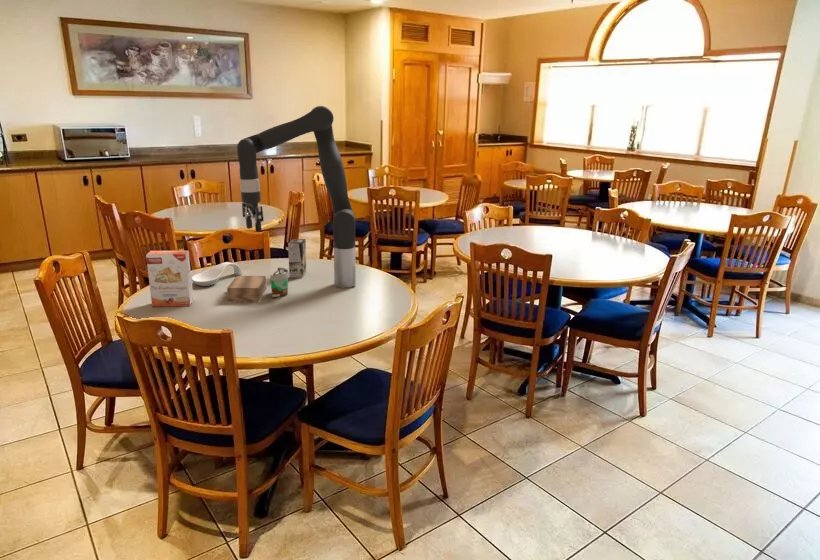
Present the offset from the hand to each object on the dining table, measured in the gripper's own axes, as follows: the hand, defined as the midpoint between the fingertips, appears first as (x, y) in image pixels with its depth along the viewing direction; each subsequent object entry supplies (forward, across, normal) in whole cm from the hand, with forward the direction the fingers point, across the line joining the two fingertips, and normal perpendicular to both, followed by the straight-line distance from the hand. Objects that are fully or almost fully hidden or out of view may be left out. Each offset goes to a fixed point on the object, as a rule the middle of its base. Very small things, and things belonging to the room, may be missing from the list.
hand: (254, 229), depth 219 cm
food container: (+26, -12, -4) cm, 29 cm away
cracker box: (+25, +2, +34) cm, 43 cm away
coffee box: (+26, +8, -23) cm, 36 cm away
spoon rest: (+26, +21, +10) cm, 34 cm away
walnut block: (+26, -4, +7) cm, 27 cm away
